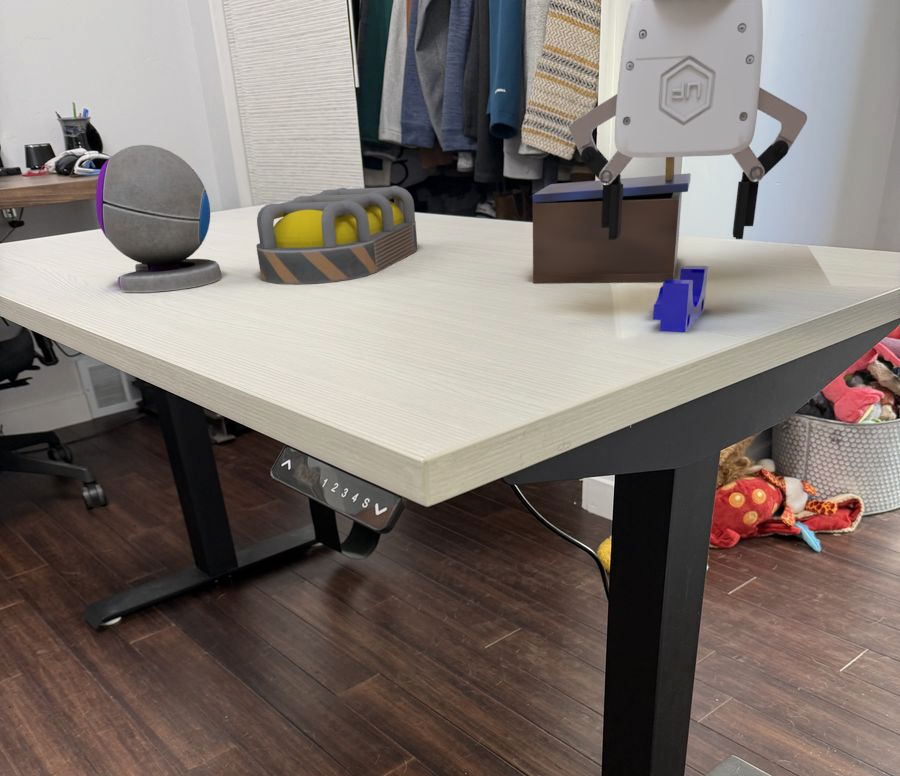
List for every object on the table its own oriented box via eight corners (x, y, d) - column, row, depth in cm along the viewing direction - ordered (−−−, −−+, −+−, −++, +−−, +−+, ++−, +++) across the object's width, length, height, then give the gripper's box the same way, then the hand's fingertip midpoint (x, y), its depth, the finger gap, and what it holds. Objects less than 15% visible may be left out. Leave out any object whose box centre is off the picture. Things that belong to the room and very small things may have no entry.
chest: (676, 263, 98) (682, 187, 94) (673, 281, 89) (679, 198, 85) (549, 264, 102) (550, 192, 98) (533, 283, 92) (532, 203, 88)
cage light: (426, 182, 119) (346, 206, 94) (430, 244, 123) (354, 283, 98) (328, 186, 122) (226, 210, 98) (335, 246, 126) (239, 284, 102)
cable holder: (663, 313, 76) (666, 265, 74) (703, 314, 75) (708, 266, 73) (641, 334, 70) (644, 282, 68) (684, 336, 69) (689, 283, 67)
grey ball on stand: (127, 277, 111) (97, 146, 103) (227, 270, 112) (204, 139, 104) (104, 296, 100) (68, 150, 92) (216, 287, 101) (189, 142, 93)
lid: (690, 181, 94) (692, 119, 91) (687, 191, 84) (690, 123, 81) (550, 191, 98) (548, 133, 95) (532, 203, 88) (530, 138, 85)
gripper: (567, -21, 59) (560, 244, 68) (835, -42, 55) (792, 243, 64) (580, -10, 66) (573, 232, 74) (822, -28, 62) (785, 230, 70)
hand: (674, 237), depth 69 cm, fingers open, 9 cm apart
